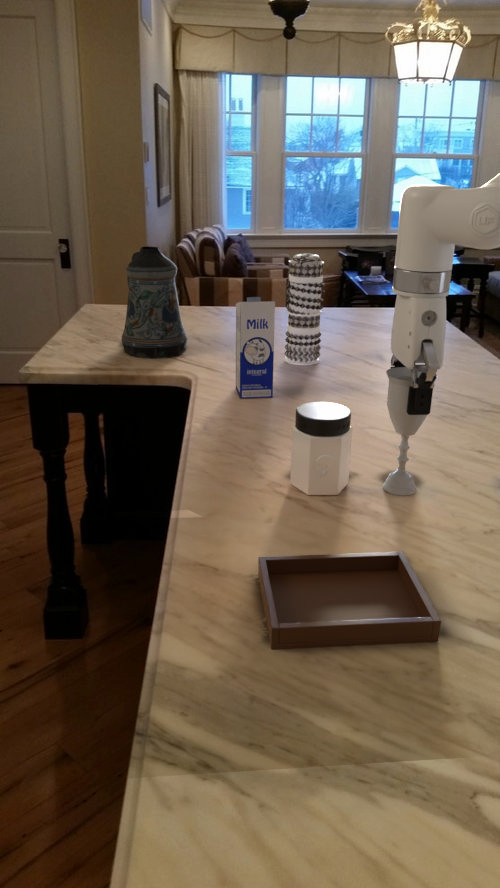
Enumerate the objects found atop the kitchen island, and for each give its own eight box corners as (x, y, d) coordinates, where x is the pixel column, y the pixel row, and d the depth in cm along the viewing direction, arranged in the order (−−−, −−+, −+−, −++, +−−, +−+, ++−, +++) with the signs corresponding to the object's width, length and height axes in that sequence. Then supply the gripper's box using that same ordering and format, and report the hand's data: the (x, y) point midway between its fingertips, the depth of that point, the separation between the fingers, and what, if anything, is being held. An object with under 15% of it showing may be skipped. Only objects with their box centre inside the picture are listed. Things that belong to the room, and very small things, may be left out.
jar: (292, 496, 104) (295, 420, 99) (287, 473, 111) (290, 401, 107) (353, 496, 104) (359, 420, 99) (344, 472, 112) (349, 401, 107)
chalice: (367, 489, 106) (377, 375, 99) (386, 474, 111) (397, 364, 104) (413, 502, 102) (427, 384, 95) (431, 486, 108) (445, 373, 101)
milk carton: (239, 398, 144) (240, 301, 136) (234, 388, 150) (235, 294, 142) (273, 397, 145) (276, 300, 137) (267, 387, 151) (269, 294, 144)
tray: (401, 569, 86) (403, 551, 85) (438, 641, 74) (441, 620, 73) (258, 575, 85) (258, 556, 84) (271, 649, 72) (271, 628, 71)
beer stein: (162, 362, 168) (158, 254, 158) (99, 351, 177) (91, 248, 167) (200, 347, 181) (198, 247, 171) (140, 337, 190) (135, 241, 180)
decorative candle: (288, 366, 166) (292, 258, 156) (279, 356, 174) (282, 252, 164) (325, 365, 168) (332, 257, 158) (314, 354, 176) (319, 251, 166)
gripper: (472, 294, 87) (454, 424, 94) (427, 271, 103) (415, 384, 110) (413, 294, 87) (399, 425, 93) (377, 271, 103) (368, 384, 109)
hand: (408, 402), depth 102 cm, fingers open, 8 cm apart
